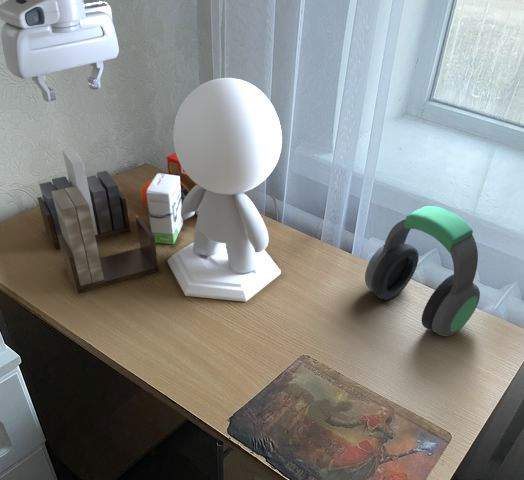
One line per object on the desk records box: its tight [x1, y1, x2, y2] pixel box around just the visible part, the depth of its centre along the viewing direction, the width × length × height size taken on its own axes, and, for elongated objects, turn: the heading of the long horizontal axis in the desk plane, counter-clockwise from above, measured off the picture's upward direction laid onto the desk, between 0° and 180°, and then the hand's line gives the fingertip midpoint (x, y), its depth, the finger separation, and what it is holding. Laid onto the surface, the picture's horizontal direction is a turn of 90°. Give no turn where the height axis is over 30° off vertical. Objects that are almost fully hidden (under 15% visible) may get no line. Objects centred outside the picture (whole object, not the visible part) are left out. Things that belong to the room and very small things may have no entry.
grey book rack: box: [36, 170, 131, 251], centre depth 111 cm, size 16×8×12 cm, turn 120°
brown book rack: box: [51, 186, 159, 294], centre depth 100 cm, size 16×8×17 cm, turn 120°
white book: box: [61, 147, 98, 235], centre depth 109 cm, size 2×7×16 cm, turn 30°
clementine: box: [140, 177, 155, 209], centre depth 121 cm, size 8×7×7 cm
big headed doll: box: [167, 77, 283, 303], centre depth 95 cm, size 20×23×35 cm
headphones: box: [364, 205, 481, 337], centre depth 93 cm, size 19×11×20 cm, turn 40°
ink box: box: [146, 172, 184, 245], centre depth 112 cm, size 9×5×12 cm, turn 173°
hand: (73, 94), depth 97 cm, fingers open, 8 cm apart
